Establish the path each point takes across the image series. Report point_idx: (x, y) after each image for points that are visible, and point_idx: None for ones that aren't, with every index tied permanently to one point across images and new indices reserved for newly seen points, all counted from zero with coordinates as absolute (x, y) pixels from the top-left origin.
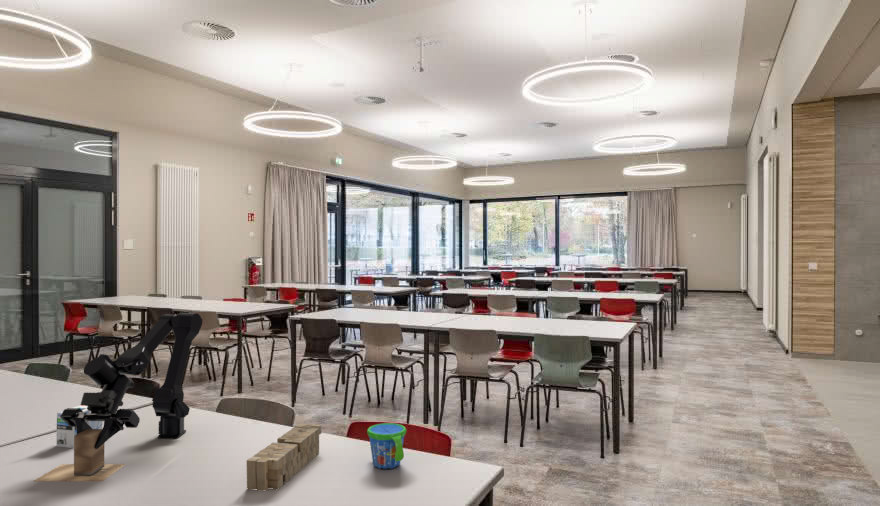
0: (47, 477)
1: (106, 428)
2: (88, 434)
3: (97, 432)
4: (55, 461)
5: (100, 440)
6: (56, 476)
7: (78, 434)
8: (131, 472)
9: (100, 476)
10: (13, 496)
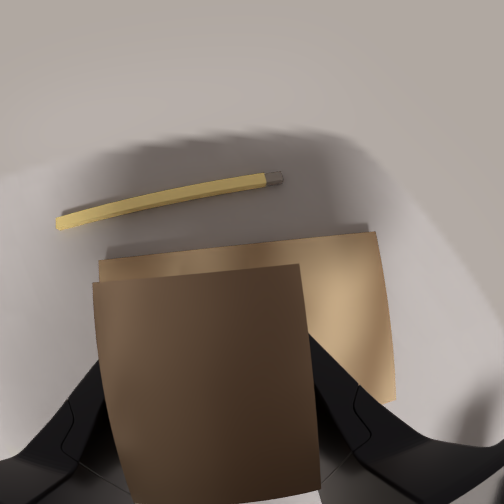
0: (353, 269)
1: (44, 445)
2: (166, 336)
3: (117, 408)
4: (437, 427)
5: (96, 364)
6: (325, 283)
7: (289, 321)
8: (71, 382)
9: None
10: (344, 144)
